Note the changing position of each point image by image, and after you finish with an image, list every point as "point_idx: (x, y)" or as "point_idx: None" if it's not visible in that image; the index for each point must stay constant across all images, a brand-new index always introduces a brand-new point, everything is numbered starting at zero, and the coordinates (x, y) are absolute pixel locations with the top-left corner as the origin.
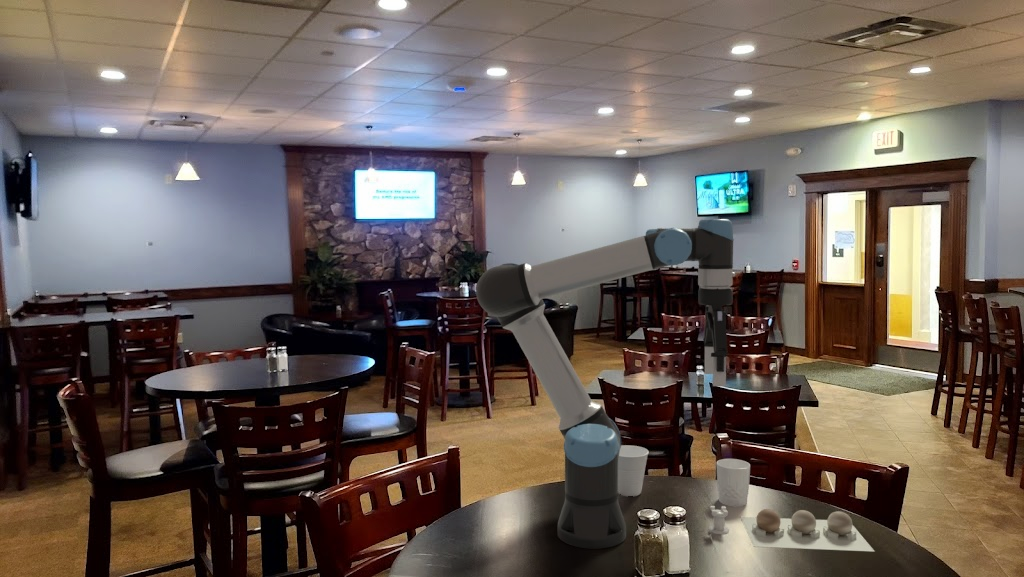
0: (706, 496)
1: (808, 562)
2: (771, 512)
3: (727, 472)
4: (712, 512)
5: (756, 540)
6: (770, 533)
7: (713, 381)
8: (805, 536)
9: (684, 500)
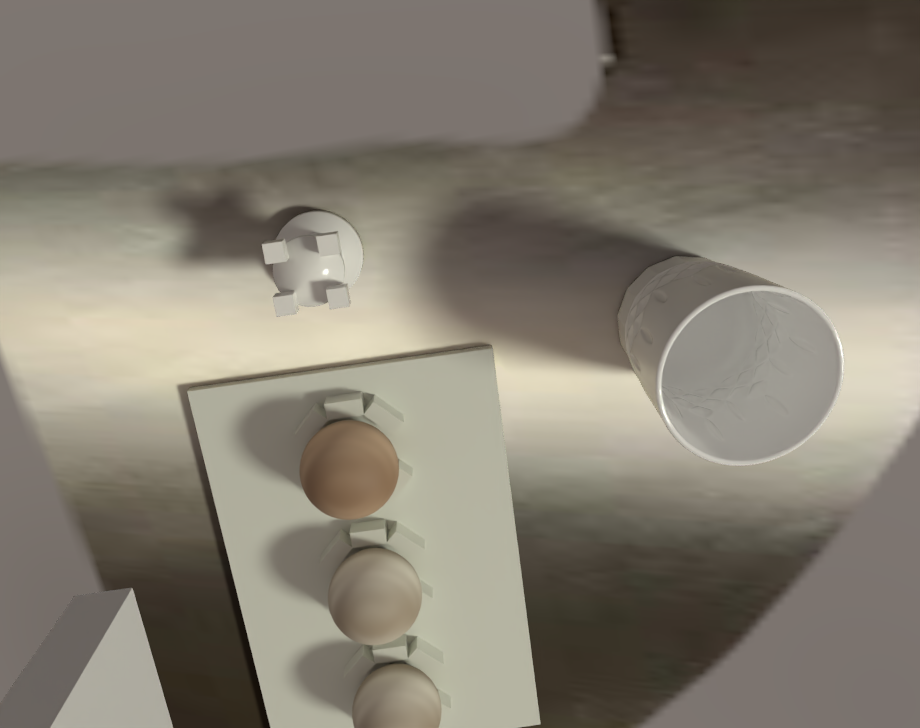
0: (757, 197)
1: (139, 560)
2: (328, 500)
3: (660, 339)
4: (262, 243)
5: (250, 402)
6: None
7: (41, 648)
8: None
9: (686, 87)
